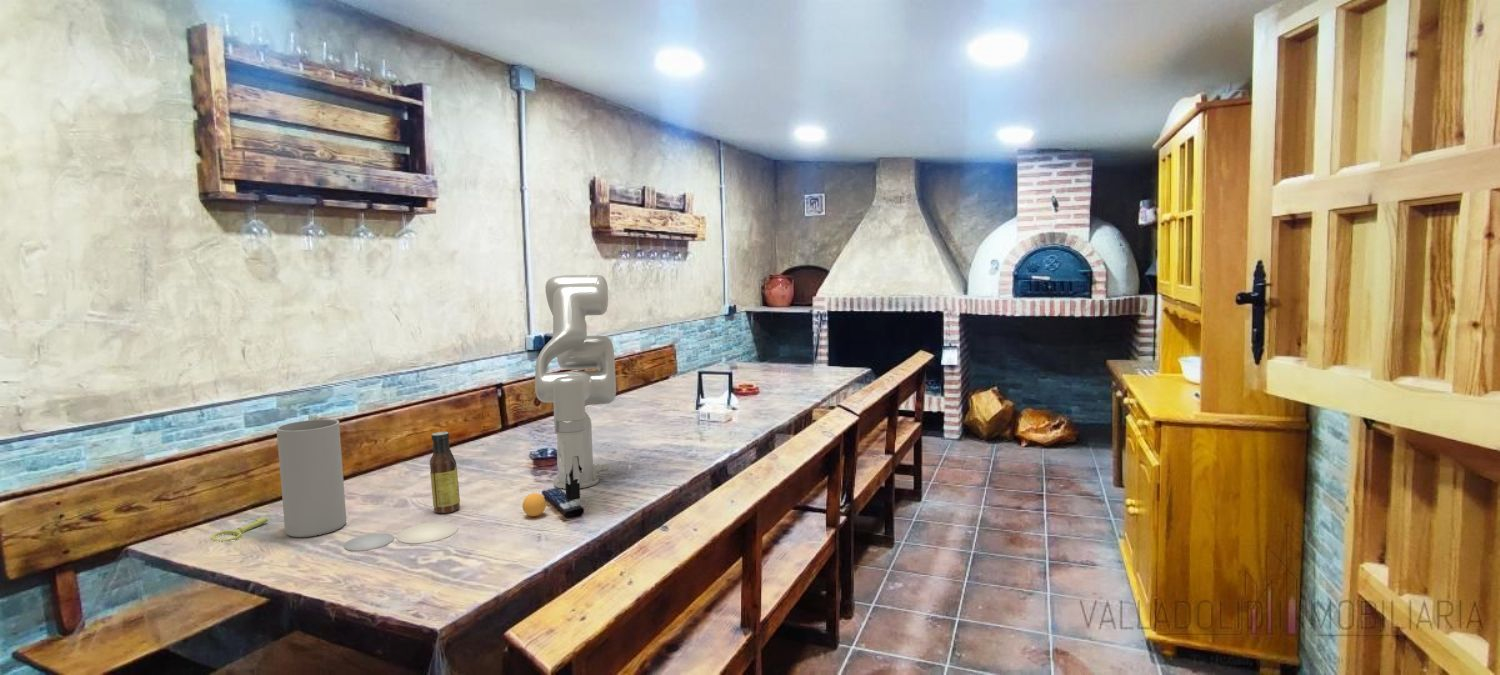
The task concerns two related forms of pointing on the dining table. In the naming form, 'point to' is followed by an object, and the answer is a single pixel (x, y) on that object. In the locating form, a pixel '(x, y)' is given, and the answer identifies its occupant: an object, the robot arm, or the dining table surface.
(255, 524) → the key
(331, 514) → the cylinder vase
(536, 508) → the ball
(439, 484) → the sauce bottle
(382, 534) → the disc
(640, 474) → the dining table surface
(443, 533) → the disc
